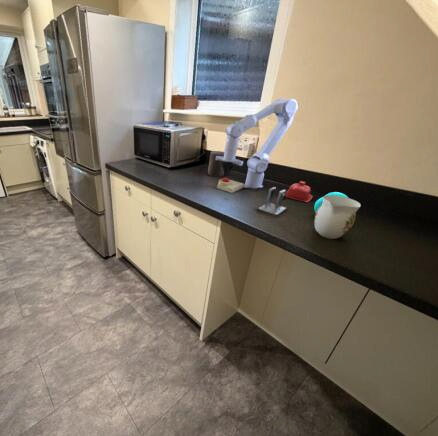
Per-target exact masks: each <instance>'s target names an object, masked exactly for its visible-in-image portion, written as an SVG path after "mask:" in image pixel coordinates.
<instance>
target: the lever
mask: <svg viewBox="0 0 438 436" xmlns="http://www.w3.org/2000/svg"><path fill="white" fill-rule="evenodd" d="M280 191H281V190H278V189H276V190H274V191H273V193H272V195H273V196H274V197H276V198H278V194H279V192H280ZM286 199H287V197H286V195H284V198H283V201H285V200H286Z"/></svg>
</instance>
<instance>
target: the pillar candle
mask: <svg viewBox="0 0 438 436" xmlns="http://www.w3.org/2000/svg"><path fill="white" fill-rule="evenodd" d="M224 152H225V151H222V150H221V151H220V150H213V151H211V152H210V153H209V154H210V155H209V162H208V169H207V175H208V176H209V177H214V178H215V177H216V178H220V177H224V171H223V167H222V163H223V161H220V160H216V156H222V157H224Z"/></svg>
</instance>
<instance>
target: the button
mask: <svg viewBox="0 0 438 436" xmlns="http://www.w3.org/2000/svg"><path fill="white" fill-rule="evenodd" d="M221 179H222V182H229V180H230V178H229V177H222V178H221Z"/></svg>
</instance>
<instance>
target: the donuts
mask: <svg viewBox="0 0 438 436" xmlns="http://www.w3.org/2000/svg"><path fill="white" fill-rule="evenodd" d="M328 195H334V196H341V197H346V198H349V196H347V195H346V194H345V193H342V192H338V191H333V192H328V193H327V194H325V195H324V196H328ZM324 196H321V197H320V198H319V199H316V201H315V203H314V206H313V211H314V214H316V212H317V210H318V208H319V207H320V206H321V205H322V203H323V197H324Z"/></svg>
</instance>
